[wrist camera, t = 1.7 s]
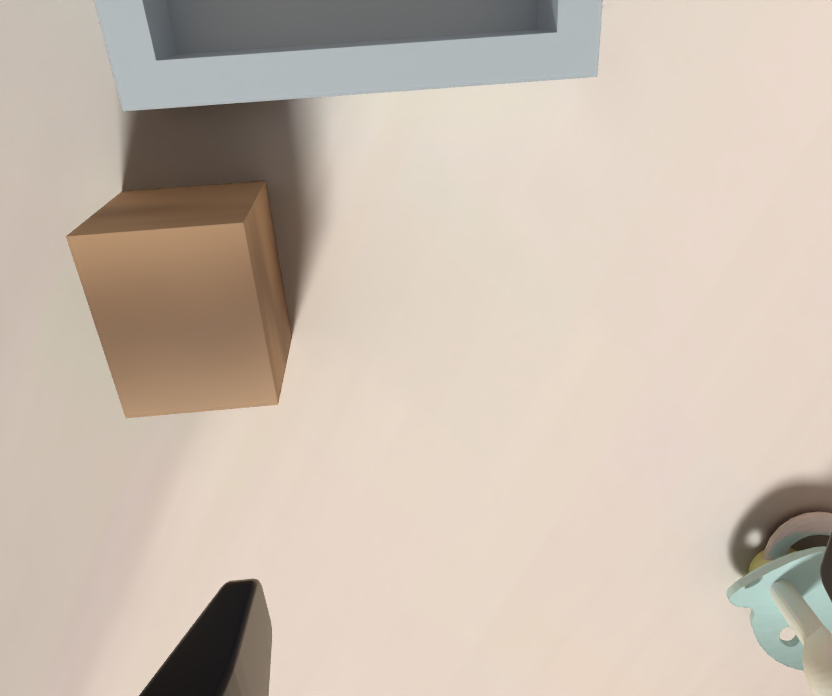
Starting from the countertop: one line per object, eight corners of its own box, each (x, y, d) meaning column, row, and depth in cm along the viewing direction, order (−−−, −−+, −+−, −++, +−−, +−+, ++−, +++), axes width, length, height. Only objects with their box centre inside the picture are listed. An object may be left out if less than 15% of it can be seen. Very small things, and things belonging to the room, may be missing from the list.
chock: (292, 335, 21) (278, 404, 17) (166, 346, 21) (125, 418, 17) (265, 179, 18) (243, 222, 15) (123, 190, 18) (66, 236, 15)
